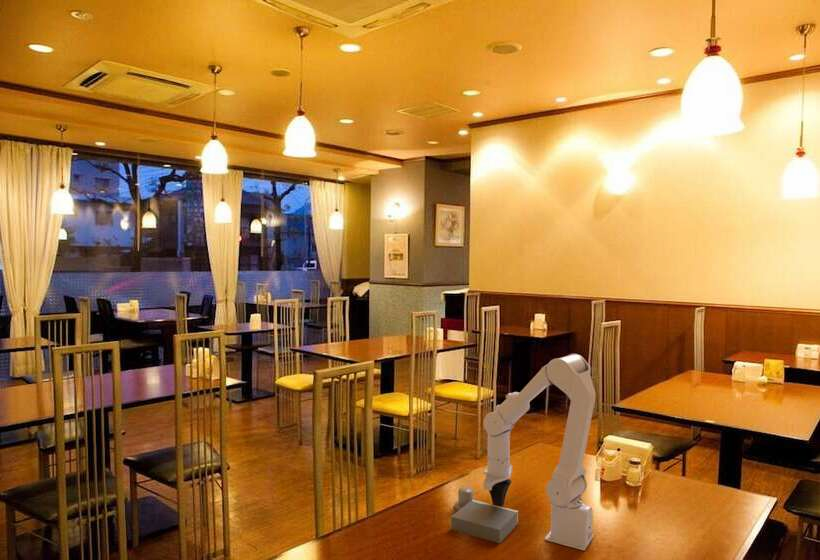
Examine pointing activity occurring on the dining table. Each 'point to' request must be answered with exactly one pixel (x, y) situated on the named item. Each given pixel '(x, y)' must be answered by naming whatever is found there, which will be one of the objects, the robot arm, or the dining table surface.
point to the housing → (484, 521)
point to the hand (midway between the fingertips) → (498, 507)
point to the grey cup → (464, 497)
